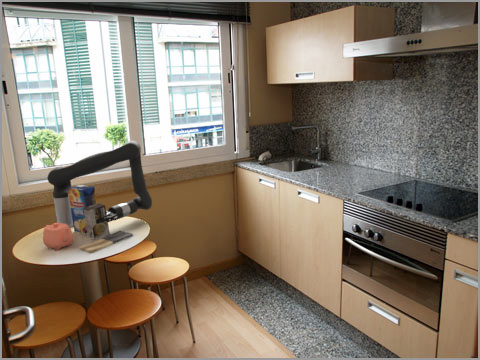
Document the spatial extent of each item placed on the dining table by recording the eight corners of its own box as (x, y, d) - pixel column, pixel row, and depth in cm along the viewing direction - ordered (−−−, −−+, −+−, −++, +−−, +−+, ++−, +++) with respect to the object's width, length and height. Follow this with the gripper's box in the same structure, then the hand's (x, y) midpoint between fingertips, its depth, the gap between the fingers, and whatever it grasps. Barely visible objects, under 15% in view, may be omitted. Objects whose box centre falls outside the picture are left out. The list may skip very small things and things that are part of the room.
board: (79, 248, 187) (78, 246, 186) (120, 232, 205) (120, 230, 205) (91, 253, 181) (91, 251, 180) (132, 235, 199) (132, 233, 199)
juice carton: (100, 229, 211) (94, 186, 205) (89, 234, 205) (82, 190, 199) (85, 226, 217) (78, 184, 211) (74, 231, 210) (67, 188, 205)
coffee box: (103, 231, 207) (98, 202, 203) (110, 234, 203) (105, 204, 199) (87, 237, 200) (82, 207, 197) (94, 240, 196) (89, 209, 192)
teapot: (37, 247, 191) (33, 224, 188) (60, 238, 201) (56, 216, 198) (61, 255, 180) (57, 230, 178) (83, 245, 190) (80, 222, 187)
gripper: (110, 202, 214) (83, 211, 201) (127, 206, 206) (99, 215, 193) (112, 215, 216) (85, 225, 203) (128, 220, 207) (101, 230, 194)
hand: (92, 220), depth 198 cm, fingers closed on coffee box, 6 cm apart
